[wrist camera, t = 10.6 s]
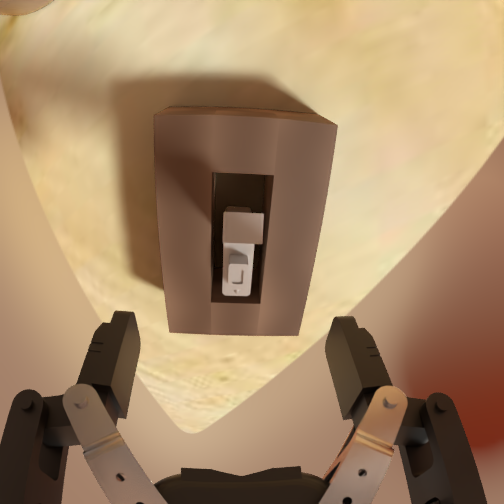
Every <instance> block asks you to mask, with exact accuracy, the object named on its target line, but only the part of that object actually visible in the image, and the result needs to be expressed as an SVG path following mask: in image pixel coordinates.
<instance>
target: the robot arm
mask: <svg viewBox="0 0 504 504" xmlns="http://www.w3.org/2000/svg"><path fill="white" fill-rule="evenodd" d="M52 1H54V0H0V15H12V16H18V15H26V14H29V13H32V12H35V11H37V10H39V9H41V8H43V7H45V6H47V5H48V4H49V3H51V2H52ZM325 352H326V358H327V361H328V365H329V368H330V372H331V376H332V379H333V383H334V387H335V390H336V394H337V398H338V402H339V406H340V409H341V413H342V417H343V420H347V419H352V420H353V423H354V425H353V427H352V428H351V430H350V432H349V434H348V436H347V438H346V440H345V441H344V443H343V445H342V447H341V449H340V451H339V452H338V454H337V456H336V458H335V460H334V461H333V463H332V464H331V466H330V467H329V469H328V470H327V471H326V473H325V475H324V476H323V478H319V477H317V476H315V475H312V474H308V473H303V472H301V467H300V466H297V467H284V468H272V469H268V470H264V471H261V472H257V473H253V474H249V475H245V476H238V475H233V474H228V473H224V472H219V471H216V470H212V469H193V468H181V474H177V475H173V476H170V477H167V478H164V479H162V480H160V481H158V482H157V483H155V484H154V485H153V483H152V482H151V480H150V479H149V478H148V476H147V475H146V474H145V472H144V471H143V469H142V468H141V466H140V465H139V463H138V462H137V460H136V459H135V457H134V456H133V454H132V453H131V451H130V449H129V448H128V446H127V444H126V443H125V442H124V440H123V438H122V437H121V435H120V433H119V431H118V430H117V428H116V424H117V420H118V418H124V419H126V417H127V412H128V406H129V401H130V396H131V390H132V386H133V381H134V376H135V372H136V367H137V362H138V358H139V354H140V336H139V331H138V327H137V322H136V318H135V314H134V312H128V311H115V312H114V314H113V317H112V320H111V323H104V322H103V323H102V324H101V325H100V326H99V328H98V329H97V330H96V331H95V333H94V335H93V338H92V341H91V344H90V346H89V349H88V352H87V355H86V358H85V360H84V363H83V366H82V369H81V372H80V375H79V378H78V381H77V383H76V385H73V386H71V387H70V388H69V389H68V390H67V391H66V392H65V394H63V395H59V396H52V397H41V395H40V394H39V393H38V392H36V391H35V390H30V389H29V390H23V391H21V392H20V393H18V394H17V395H16V397H15V398H14V400H13V402H12V406H11V409H10V412H9V415H8V418H7V422H6V425H5V429H4V432H3V436H2V440H1V444H0V504H61V501H62V492H63V483H64V476H65V468H66V462H67V455H68V449H69V446H72V445H81V446H82V448H83V450H84V452H83V454H84V457H85V459H86V461H87V463H88V465H89V467H90V469H91V471H92V472H93V474H94V476H95V478H96V480H97V481H98V483H99V485H100V486H101V488H102V490H103V491H104V493H105V495H106V497H107V498H108V500H109V501H110V503H111V504H371V503H372V501H373V499H374V497H375V495H376V493H377V491H378V489H379V487H380V484H381V482H382V480H383V478H384V476H385V474H386V471H387V469H388V467H389V464H390V462H391V460H392V457H393V454H394V449H392V447H393V445H398V446H399V450H400V454H401V458H402V462H403V466H404V471H405V475H406V480H407V484H408V489H409V493H410V498H411V503H412V504H487V501H486V497H485V494H484V490H483V487H482V483H481V480H480V477H479V473H478V470H477V466H476V463H475V460H474V457H473V454H472V452H471V448H470V445H469V443H468V439H467V437H466V434H465V431H464V428H463V426H462V423H461V420H460V418H459V415H458V412H457V410H456V407H455V405H454V403H453V401H452V399H451V398H450V397H448V396H447V395H445V394H443V393H433V394H431V395H430V396H429V397H428V398H427V399H426V400H423V399H416V398H409V397H406V396H405V394H404V393H403V392H402V391H401V390H400V389H398V388H396V387H394V386H393V385H392V383H391V380H390V378H389V375H388V373H387V370H386V368H385V365H384V363H383V360H382V358H381V357H380V353H379V351H378V349H377V346H376V344H375V341H374V339H373V337H372V336H371V334H370V333H369V332H368V331H367V330H366V329H365V328H358V325H357V323H356V320H355V318H354V317H353V316H340V317H335V318H334V319H333V322H332V325H331V328H330V331H329V334H328V337H327V340H326V345H325Z"/></svg>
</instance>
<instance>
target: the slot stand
mask: <svg viewBox="0 0 504 504" xmlns="http://www.w3.org/2000/svg"><path fill="white" fill-rule="evenodd" d="M337 127H338V125H336V124H335V123H333V122H331V121H329V120H327V119H326V118H324V117H322V116H320V115H317V114H308V113H299V112H290V111H279V110H267V109H252V108H233V107H168V108H166V109H164V110H163V111H161V112H159V113H157V114H155V115H154V156H155V183H156V202H157V218H158V232H159V244H160V256H161V266H162V276H163V285H164V294H165V302H166V310H167V318H168V325H169V332H170V333H188V334H209V335H244V336H298V335H299V330H300V326H301V322H302V317H303V313H304V309H305V304H306V300H307V295H308V290H309V286H310V281H311V276H312V272H313V267H314V262H315V257H316V252H317V247H318V242H319V236H320V231H321V226H322V220H323V215H324V209H325V204H326V198H327V192H328V186H329V180H330V174H331V168H332V161H333V155H334V148H335V141H336V135H337ZM216 172H217V173H242V174H262V175H265V186H264V197H263V208H262V214H264V220H263V243H262V244H259V251H258V262H257V269H252V279H251V291H250V295H248V296H225V295H224V294H223V293H222V285H223V268H214V219H215V178H216Z"/></svg>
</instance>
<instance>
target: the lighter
mask: <svg viewBox="0 0 504 504" xmlns="http://www.w3.org/2000/svg"><path fill="white" fill-rule="evenodd" d="M263 220H264V214H262V213H252V211H251V209H250V208H249V207H232V206H228V207H227V208H226V210H225V212H224V217H223V243H224V246H223V285H222V293H223V294H224V295H225V296H248V295H250V291H251V279H252V268H253V256H254V245H255V244H262V243H263Z"/></svg>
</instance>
